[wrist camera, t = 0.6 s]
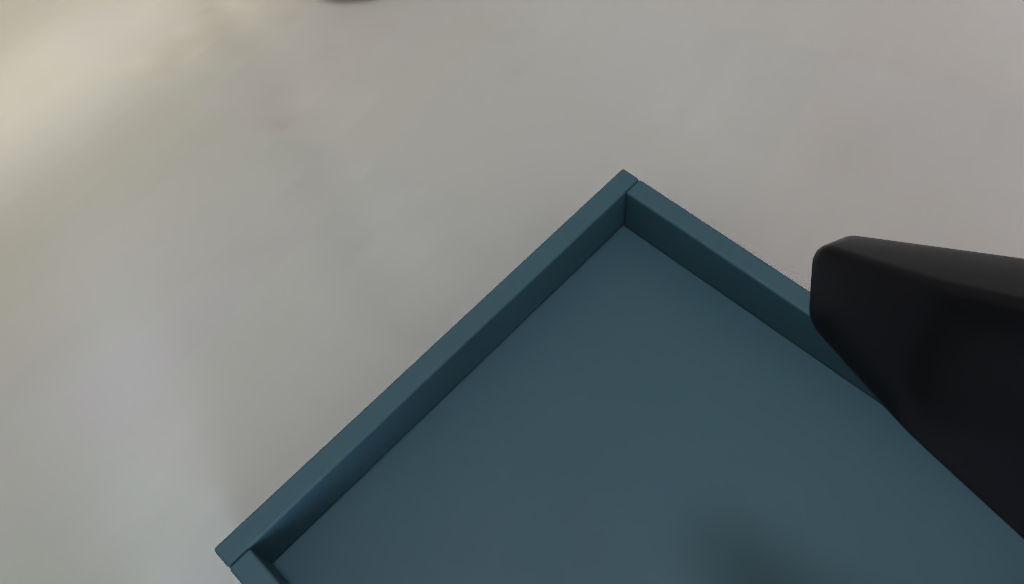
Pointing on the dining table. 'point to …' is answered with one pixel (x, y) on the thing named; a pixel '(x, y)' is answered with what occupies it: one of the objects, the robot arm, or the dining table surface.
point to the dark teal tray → (627, 439)
